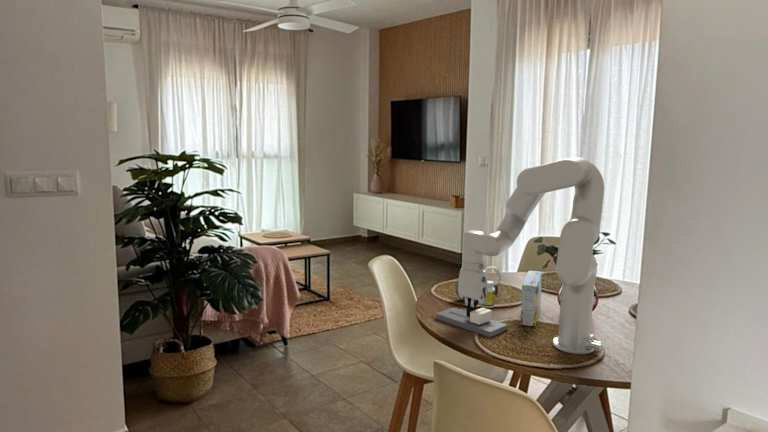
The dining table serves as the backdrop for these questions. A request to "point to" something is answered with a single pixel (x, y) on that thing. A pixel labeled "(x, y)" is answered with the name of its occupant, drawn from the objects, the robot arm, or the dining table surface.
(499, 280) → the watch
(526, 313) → the snack box
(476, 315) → the fader knob
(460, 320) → the grey slider track base
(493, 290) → the supplement bottle
